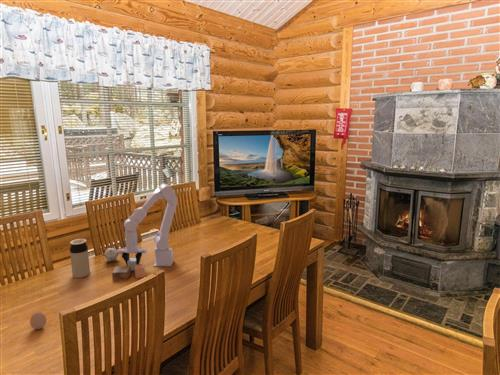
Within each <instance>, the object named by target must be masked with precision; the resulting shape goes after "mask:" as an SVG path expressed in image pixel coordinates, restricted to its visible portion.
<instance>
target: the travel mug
mask: <svg viewBox="0 0 500 375" xmlns="http://www.w3.org/2000/svg"><path fill="white" fill-rule="evenodd" d="M69 245H70V248H69V253H70V254H69V255H70V264H71V265H70V266H71V273H72V278H75V279H80V278H85V277H87V276H89V275H90V274H91V268H90V258H89V257H90V256H89V248H88V245H87V239H85V238H76V239H73V240H71V241H70V242H69Z"/></svg>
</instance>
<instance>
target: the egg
mask: <svg viewBox="0 0 500 375" xmlns="http://www.w3.org/2000/svg"><path fill="white" fill-rule="evenodd" d="M46 323H47V316H46V314H45V313H44V312H42V311H40V310H39V311H38V310H36V311H35V312H34V313H33V314H31V317H30V320H29V324H30V327H31V328H32V329H34V330H40V329H42V328H44V327H45V325H46Z"/></svg>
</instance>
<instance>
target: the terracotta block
mask: <svg viewBox="0 0 500 375" xmlns="http://www.w3.org/2000/svg"><path fill="white" fill-rule="evenodd" d="M134 275H135V279H136V278H144V277H146V268H145V263H139V265H135V270H134Z"/></svg>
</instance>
